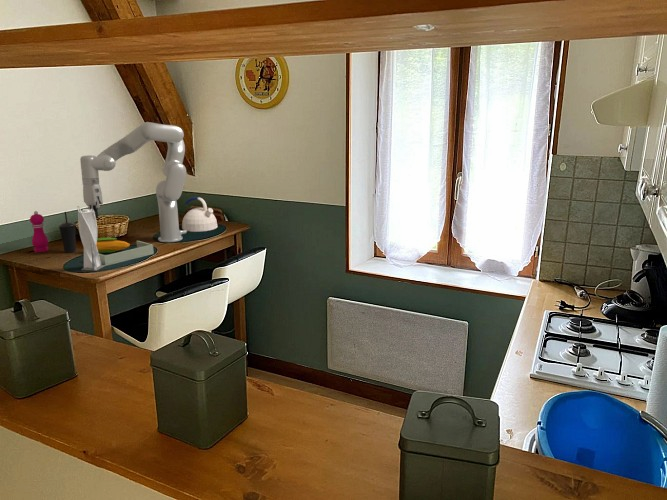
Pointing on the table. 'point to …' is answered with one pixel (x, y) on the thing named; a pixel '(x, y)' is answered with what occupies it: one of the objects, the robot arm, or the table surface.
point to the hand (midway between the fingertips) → (94, 218)
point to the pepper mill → (38, 233)
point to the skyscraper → (89, 239)
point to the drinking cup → (68, 235)
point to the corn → (110, 245)
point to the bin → (127, 254)
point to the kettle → (199, 218)
